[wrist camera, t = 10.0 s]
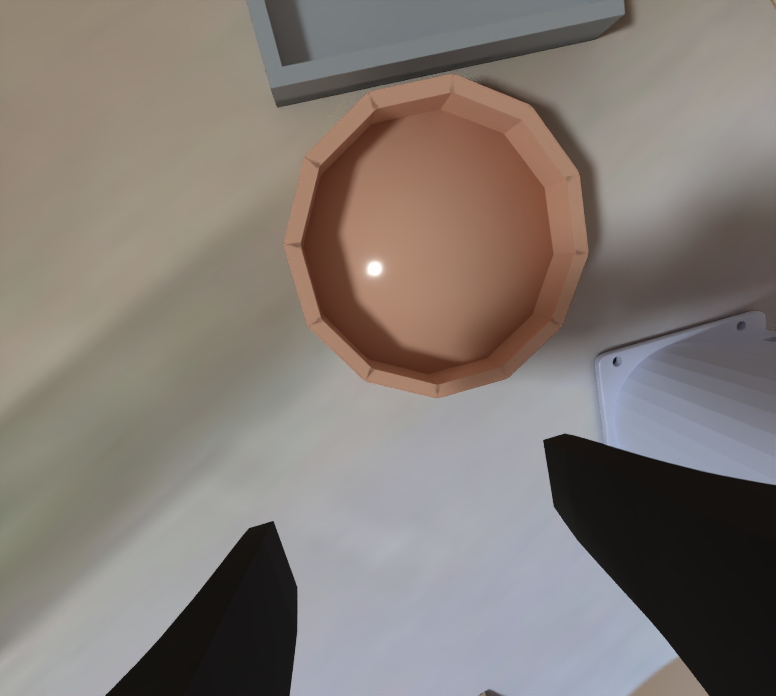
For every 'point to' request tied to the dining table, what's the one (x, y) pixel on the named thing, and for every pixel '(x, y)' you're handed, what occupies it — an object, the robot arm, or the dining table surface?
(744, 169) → the dining table surface
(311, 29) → the slate-grey tray
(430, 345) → the terracotta dish
